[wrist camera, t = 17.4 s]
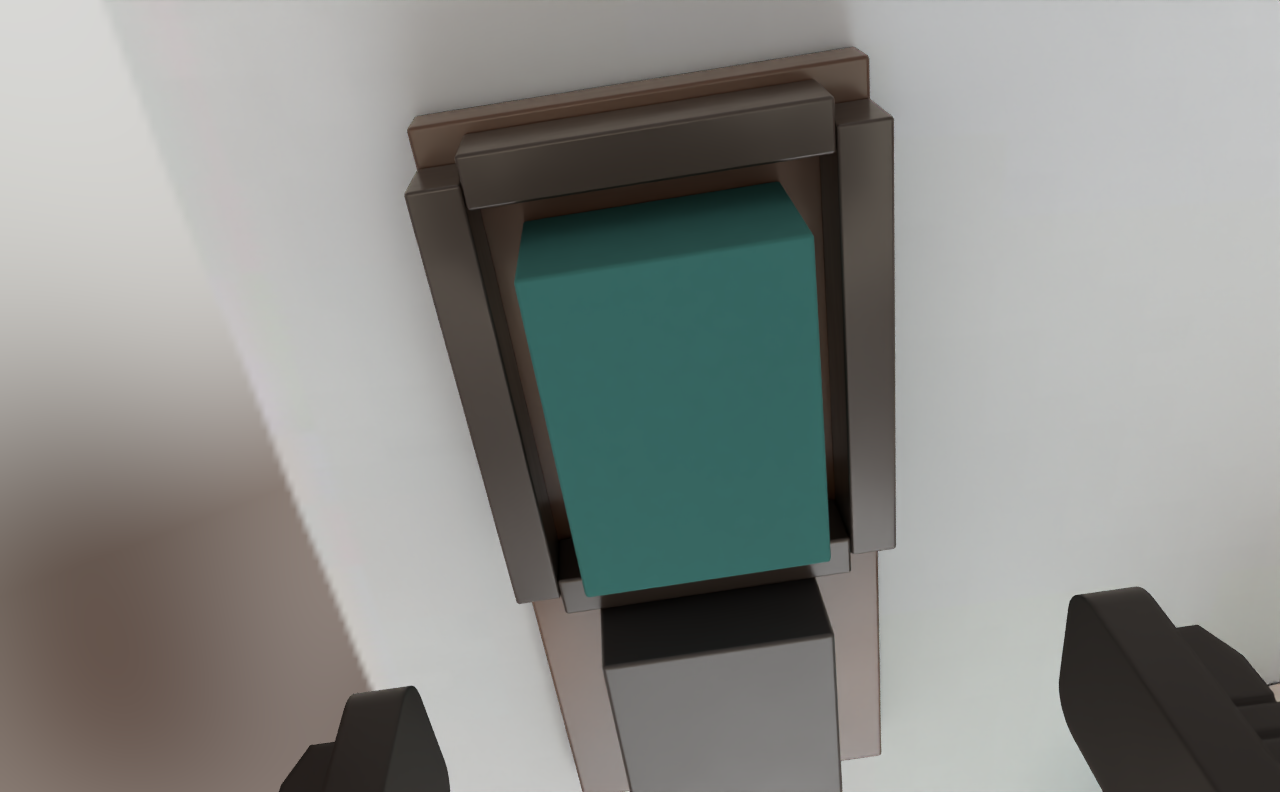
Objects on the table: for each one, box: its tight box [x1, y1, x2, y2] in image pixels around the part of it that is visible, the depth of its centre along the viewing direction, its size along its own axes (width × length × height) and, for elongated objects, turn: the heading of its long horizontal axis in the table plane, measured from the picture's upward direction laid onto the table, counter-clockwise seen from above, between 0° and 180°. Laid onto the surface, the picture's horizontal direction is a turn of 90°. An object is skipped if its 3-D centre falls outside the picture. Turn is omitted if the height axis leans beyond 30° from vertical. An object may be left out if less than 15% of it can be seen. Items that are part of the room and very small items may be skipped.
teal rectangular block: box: [514, 182, 831, 597], centre depth 18 cm, size 7×5×3 cm
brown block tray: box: [404, 47, 896, 792], centre depth 21 cm, size 19×8×4 cm, turn 8°
